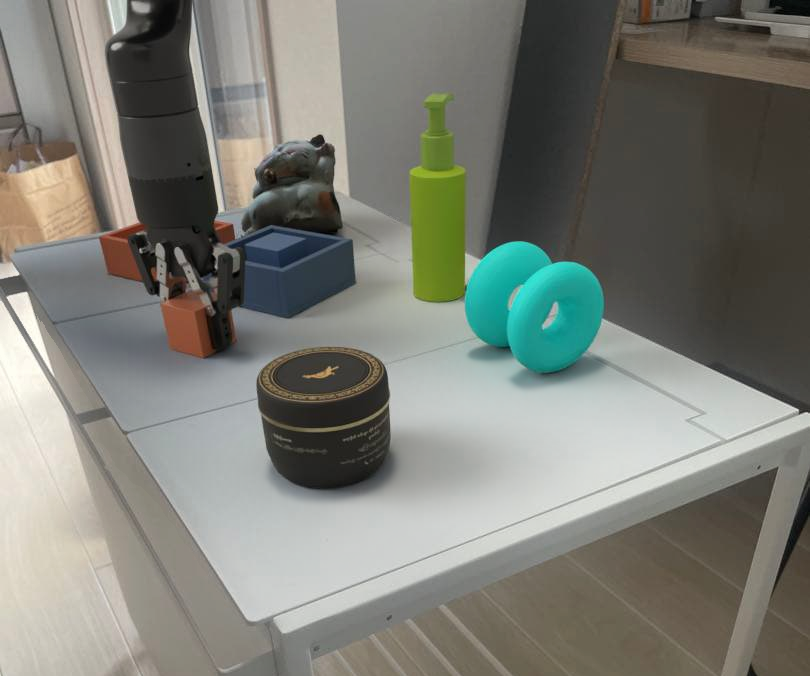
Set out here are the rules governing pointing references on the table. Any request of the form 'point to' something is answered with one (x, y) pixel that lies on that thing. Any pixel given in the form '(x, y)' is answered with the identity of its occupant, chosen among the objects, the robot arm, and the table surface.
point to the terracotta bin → (122, 257)
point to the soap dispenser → (438, 211)
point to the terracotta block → (189, 324)
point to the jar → (325, 415)
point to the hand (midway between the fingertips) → (203, 341)
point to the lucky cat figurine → (295, 189)
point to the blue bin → (297, 273)
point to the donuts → (534, 306)
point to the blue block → (276, 250)
